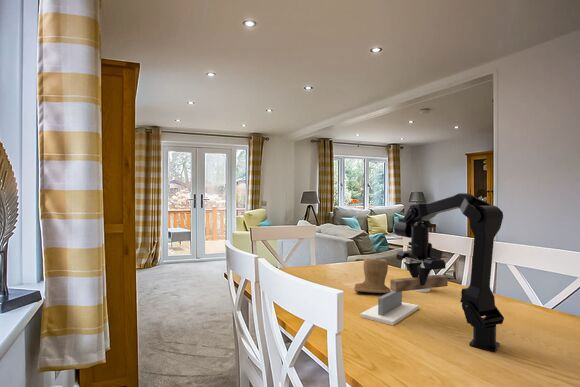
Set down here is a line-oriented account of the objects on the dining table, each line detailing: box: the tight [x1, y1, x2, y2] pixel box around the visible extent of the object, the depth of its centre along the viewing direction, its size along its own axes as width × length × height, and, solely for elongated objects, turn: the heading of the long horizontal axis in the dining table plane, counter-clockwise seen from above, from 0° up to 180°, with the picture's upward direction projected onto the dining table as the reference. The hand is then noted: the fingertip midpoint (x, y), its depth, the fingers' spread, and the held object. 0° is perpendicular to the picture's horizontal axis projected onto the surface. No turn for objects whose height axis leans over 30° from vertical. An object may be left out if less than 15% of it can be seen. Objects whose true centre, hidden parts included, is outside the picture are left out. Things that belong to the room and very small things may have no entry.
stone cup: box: [353, 257, 391, 294], centre depth 153 cm, size 15×12×15 cm
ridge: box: [359, 290, 419, 326], centre depth 126 cm, size 22×12×7 cm, turn 139°
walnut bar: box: [389, 274, 449, 293], centre depth 122 cm, size 22×3×4 cm, turn 110°
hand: (419, 284), depth 122 cm, fingers closed on walnut bar, 3 cm apart
